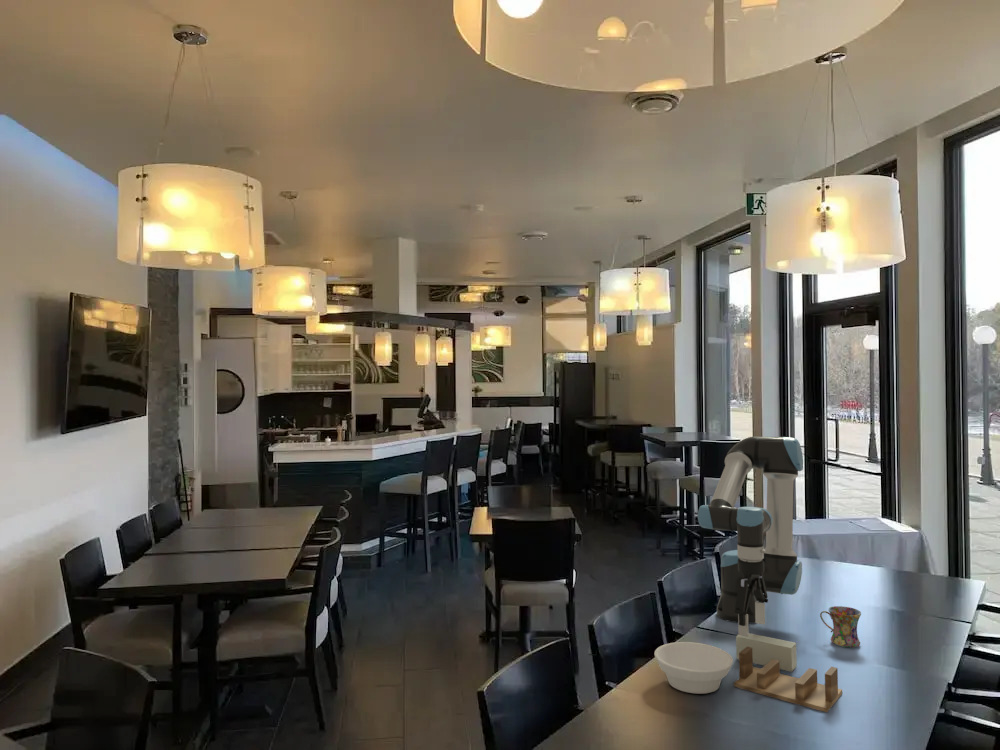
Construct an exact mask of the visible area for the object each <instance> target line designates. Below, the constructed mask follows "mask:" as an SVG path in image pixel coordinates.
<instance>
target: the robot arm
mask: <svg viewBox="0 0 1000 750" xmlns="http://www.w3.org/2000/svg"><path fill="white" fill-rule="evenodd" d="M724 465H725V466H724V467H723V470H722V473H721V476H720V479H719V480H718V483H717V486H716V488H715V489H714V490H715V491H714V493H713V496H712V498H711V501H710V502H709V504H703V505H700V506H699V508H698V511H697V520H698V524H699V526H700V527H701V528H703V529H710V530H718V531H719V530H720V531H727V532H728V531H730V532H736V533H737V534H736V535H737V543H736V544H737V549H733V550H727V551H724V552H723V553H722V555H721V558H720V565H719V566H720V578H721V579H720V585H721V594H720V597H719V600H718V603H717V606H716V616H717V617H719V619H721V620H724V621H726V622H731V623H737V625H738V634H739V635H740V636H744V637H749V633H750V632H749V624H753V623H754V624H755V623H756V624H758V625H766V604H767V603H769V599H768V596H769V595H768V593H774V594H775V593H776V594H780V595H791V596H792V595H794V594H795V595H796V593H797V592H798V591H799V588H800V585H801V581H802V575H803V562H802V561H801V560H800V559H798V554H797V553H796V552H795V551H794V550H793V531H794V529H793V528H794V527H793V525H794V524H793V522H794V520H793V519H794V480H795V479H796V478H797V477H799V472H801V471H803V470H804V456H803V451H802V446H801V444H800V442H799V440H798V439H797V438H794V437H789V436H787V437H786V436H756V435H755V436H754V435H753V436H748V437H747V438H746V437H745V438H743V439H742V440H740V441H739V442H737V443H736V444H734V445H733V446H732V447H731V448H730V449H729V450H728V452H727V453H726V456H725V458H724ZM752 469H758V470H759V469H762V475H764V477H765V478H766V481H767V482H766V483H767V484H766V508H764V507H757V506H740V507H735V506H736V503H737V500H738V498H739V496H740V492H741V489H742V488H743V485H744V481H745V479H746V476H747V474H749V473H751V471H752ZM764 533H765V535H766V536H765V538H766V539H765V547H764ZM767 592H768V593H767Z"/></svg>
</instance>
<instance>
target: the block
mask: <svg viewBox="0 0 1000 750" xmlns="http://www.w3.org/2000/svg"><path fill="white" fill-rule="evenodd" d="M735 640H736V641H735V651H736V652H735V653H736V654H735V655H736V657H735V658H736V660H739V652H741V651H742V650H743V649H745V648H746V647H751V648H752V656H753V664H756V665H760V666H763V667H764V666H765V665H766V664H767V663H768V662H769V661H771V660H772V659H774V660H778V661H780V670H782V671H787V672H789V673H792V672H793V671H794V670H795V669H796V668H797V666H798V665H797V660H798V659H797V643H796V642H793V641H790V640H789V641H788V640H784V639H780V638H779V639H778V638H775V637H769V636H765V635H760V634H755V633H752V632H751V633H750V632H749V637H744V636H740V635H739V633H738V634H736V636H735Z"/></svg>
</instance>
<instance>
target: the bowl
mask: <svg viewBox="0 0 1000 750" xmlns="http://www.w3.org/2000/svg"><path fill="white" fill-rule="evenodd" d="M654 658H655V660H656V662H657V665H658V666H659V668H660V670H661V671H662V672H663V673H665V675H666V678H667V681H668V684H669V685H670V686H671V687H672V688H674V689H676V690H678V691H681V692H683V693H684V692H685V693H690V694H709V693H714V692H716V691H718V690H719V688H720V686H721V682H722V680H723V678H725V677H727V675H728V674H729V671H730V670H731V668H732V665H733V663H734V658H733V657H732V656H731V654H730V653H728V652H727V651H725V650H724V649H723V648H720V647H717V646H714V645H711V644H706V643H701V642H693V641H692V642H691V641H680V642H679V641H678V642H677V641H676V642H670V643H669V642H668V643H666V644H663V645H660V646H658V647H657V648H656V649H655V650H654Z"/></svg>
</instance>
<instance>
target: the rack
mask: <svg viewBox="0 0 1000 750" xmlns="http://www.w3.org/2000/svg"><path fill="white" fill-rule="evenodd" d="M753 664H754V663H753V656H752V648H751V647H746V648H745V649H743V650H742V651H741V652H739V661H738V665H739V667H738V668H739V669H738V672H739V677H738V678H737V679H736V680H735V681H734V682H733V687H734V688H738V689H741V690H745V691H748V692H752V693H756V694H760V695H763V696H767V697H771V698H772V699H773V698H774V699H778V700H781V701H784V702H788V703H791V704H795V705H799V706H802V707H806V708H810V709H813V710H817V711H821V712H825V713H828V712H829V711H830V709H831V708H832V707H833V706H834V705H835V703H836V702H837V701H838V699H839V698H840V697H841V696H842V694H843V689H841V688H839V684H838V683H839V678H838V677H839V676H838V669H839V668H838V667H835V666H830V667H829V668H828V670H827V671H826V672H825V673H824V684H821V683H818V669H815V668H811V667H809V668H808V669H807V670H805V672H804V673H803V674H801V676H800V677H794V676H792V675H791V676H790V675H787V674H783V673H781V669H780V661H778V660H774V659H772V660H771V661H769V662H768V663H767V664H766V665H765V666H764V665H763V667H761V668H760V667H756V666H753Z"/></svg>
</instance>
